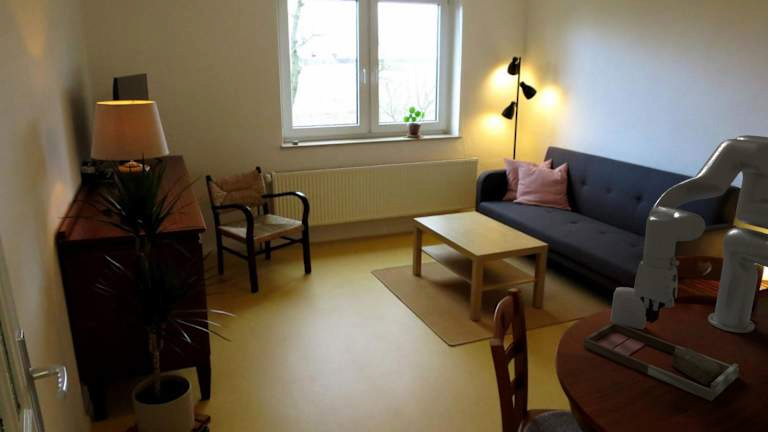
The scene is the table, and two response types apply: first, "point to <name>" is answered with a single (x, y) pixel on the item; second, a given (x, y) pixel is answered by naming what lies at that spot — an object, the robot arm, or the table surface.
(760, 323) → the table surface
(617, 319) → the photo printer
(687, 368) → the stone block
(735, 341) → the table surface
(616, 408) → the table surface
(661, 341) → the frame
